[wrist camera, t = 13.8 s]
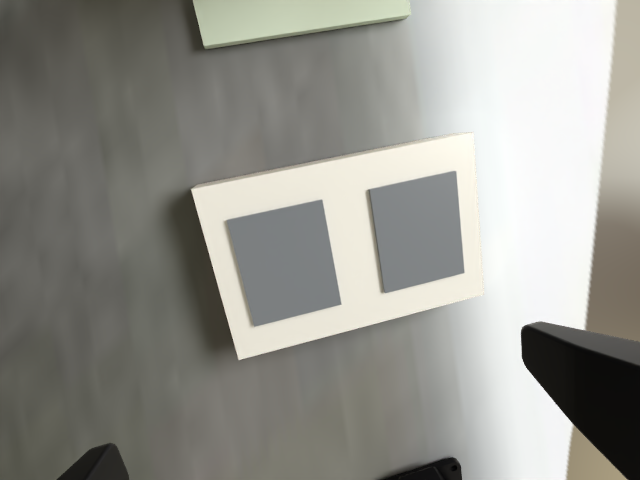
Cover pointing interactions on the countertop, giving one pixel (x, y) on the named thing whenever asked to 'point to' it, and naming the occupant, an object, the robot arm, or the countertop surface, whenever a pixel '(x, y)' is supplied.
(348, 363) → the countertop surface
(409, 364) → the countertop surface
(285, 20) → the mat
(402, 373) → the countertop surface
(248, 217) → the label panel
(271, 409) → the countertop surface
